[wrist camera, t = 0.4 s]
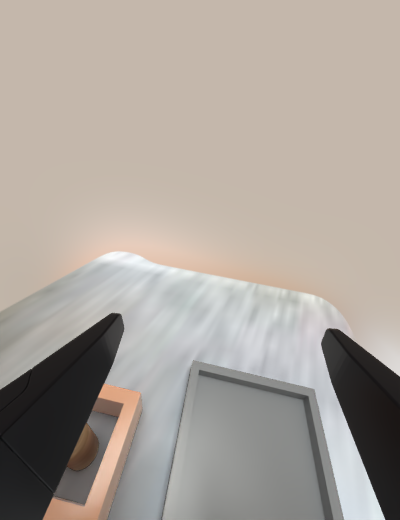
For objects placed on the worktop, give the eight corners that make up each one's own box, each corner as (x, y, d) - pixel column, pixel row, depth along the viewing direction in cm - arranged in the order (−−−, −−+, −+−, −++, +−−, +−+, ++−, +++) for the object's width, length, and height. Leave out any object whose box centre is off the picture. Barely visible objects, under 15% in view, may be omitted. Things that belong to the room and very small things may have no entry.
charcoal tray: (349, 621, 14) (369, 633, 12) (151, 567, 14) (152, 573, 13) (305, 395, 24) (314, 389, 22) (190, 368, 24) (193, 360, 23)
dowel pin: (88, 473, 17) (55, 454, 11) (59, 466, 17) (12, 442, 11) (104, 435, 19) (83, 401, 13) (77, 429, 19) (45, 392, 13)
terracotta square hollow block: (102, 533, 15) (90, 538, 12) (1, 505, 15) (-34, 504, 12) (142, 409, 20) (140, 392, 18) (68, 391, 21) (55, 371, 18)
